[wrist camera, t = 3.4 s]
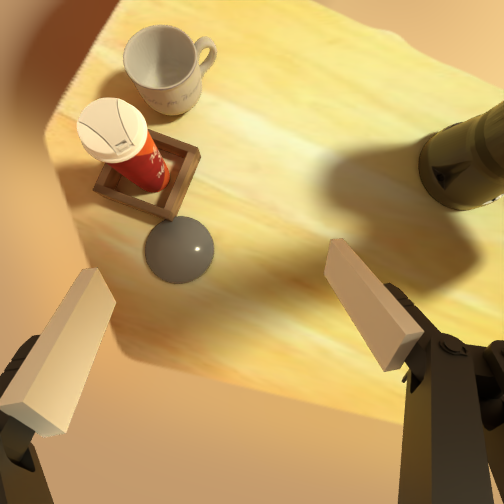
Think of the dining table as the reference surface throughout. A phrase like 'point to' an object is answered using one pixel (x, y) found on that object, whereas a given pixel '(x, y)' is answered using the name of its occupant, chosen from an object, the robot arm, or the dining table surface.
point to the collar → (192, 157)
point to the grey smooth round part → (179, 250)
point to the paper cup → (123, 142)
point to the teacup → (167, 67)
